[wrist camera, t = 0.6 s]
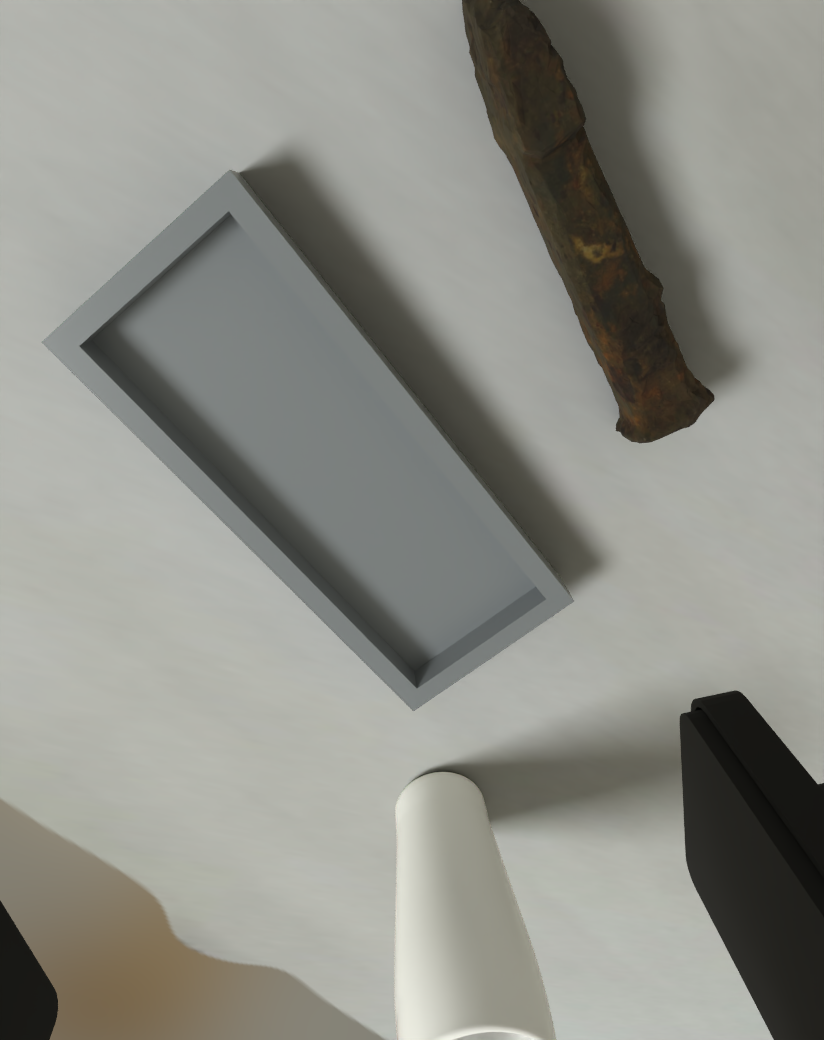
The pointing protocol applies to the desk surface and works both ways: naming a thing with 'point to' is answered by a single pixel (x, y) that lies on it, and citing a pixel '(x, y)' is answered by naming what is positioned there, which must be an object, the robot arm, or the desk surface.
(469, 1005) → the white tumbler
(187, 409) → the tray
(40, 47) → the desk surface
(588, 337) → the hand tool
